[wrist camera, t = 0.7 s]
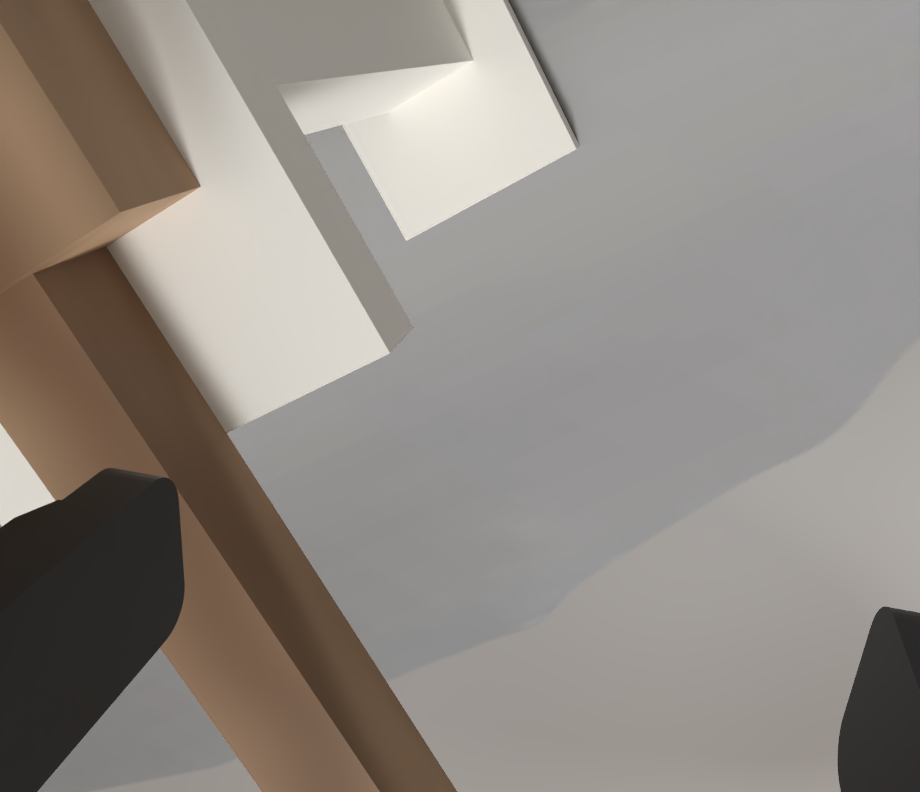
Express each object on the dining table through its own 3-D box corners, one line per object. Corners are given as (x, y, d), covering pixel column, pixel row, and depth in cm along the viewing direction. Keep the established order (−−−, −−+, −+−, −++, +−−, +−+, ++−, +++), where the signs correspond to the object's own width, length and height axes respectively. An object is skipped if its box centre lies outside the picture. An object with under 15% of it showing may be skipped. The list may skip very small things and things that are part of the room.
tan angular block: (305, 862, 21) (261, 958, 19) (-260, 70, 16) (-404, 76, 14) (571, 799, 18) (556, 901, 16) (-11, -163, 14) (-142, -201, 12)
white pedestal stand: (414, 235, 48) (10, 538, 19) (319, 63, 46) (-303, 111, 17) (579, 145, 44) (389, 353, 15) (485, -47, 42) (55, -225, 13)
